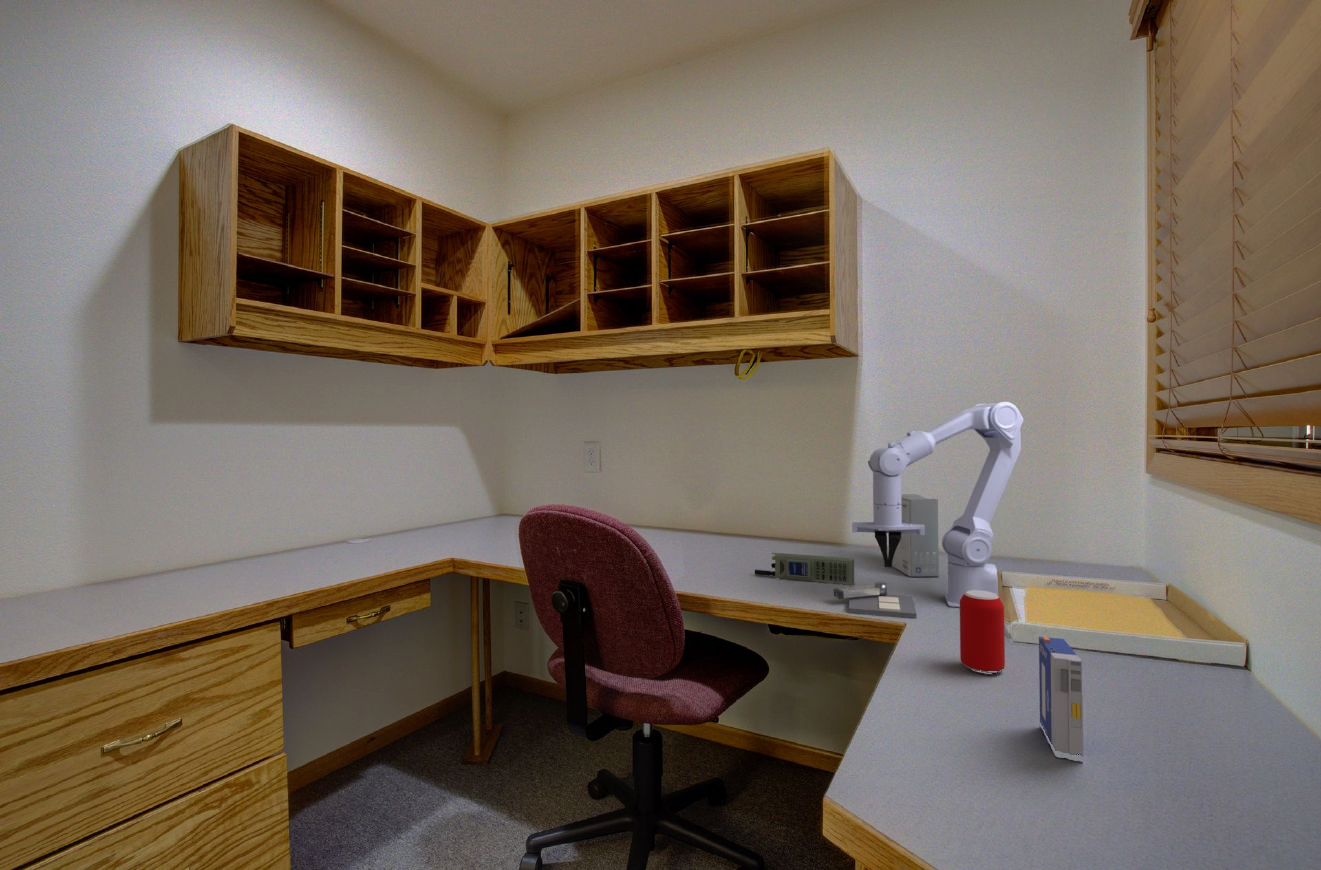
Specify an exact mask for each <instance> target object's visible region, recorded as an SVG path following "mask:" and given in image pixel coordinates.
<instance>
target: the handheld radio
mask: <svg viewBox="0 0 1321 870" xmlns="http://www.w3.org/2000/svg"><path fill="white" fill-rule="evenodd" d="M771 554H772V556H771V560H772V561H773V560H774V562H772V563H771V568H772V569H775V570H765V569H764V570H763V569H754V575H757V576H768V577H769V576H773V577H774V578H779V579H778V580H783V579H786V580H787V581H796V582H806V581H807V583H808V582H809V583H817V582H818V583H819V584H828V583H833V584H832V585H840V584H842V585H843V586H851V585H853V586H854V585H855V558H854V557H839V556H826V555H825V556H823V555H812V554H811V555H809V554H798V553H784V552H782V553H781V552H772V553H771ZM818 583H817V584H818ZM842 585H841V586H842Z"/></svg>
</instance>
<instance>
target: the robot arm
mask: <svg viewBox="0 0 1321 870" xmlns="http://www.w3.org/2000/svg"><path fill="white" fill-rule="evenodd" d="M1023 423H1024V417H1023V416H1022V414H1021V412H1020V410H1019V409H1018V407H1017V406H1016V405H1015V404H1013V403H1012V402H1009V401H1001V402H995V403H978V404H975V405H974V406H973V407H969V408H965V409H963V411H960V412H959V413H957V414H956V415H954V416H952V417H950V418H948V419H947V420H945V421H943V422H942V423H940V424H938V425H936V426H935V427H933V428H931V429H930V430H928V431H923V430H918V429H917V430H916V431H915V430H910V431H908V432H906V436H904V437H903V438H901V439H898V440H897V441H890V442H888V443H887V448H886V447H881V448H877V449H875V450H874V451H873V452H872V453H871V454H870V457H869V460H868V461H867V465H868V468H869V469H870V470H871V472H872V475H873V476H872V481H873V482H872V501H873V503H872V505H873V506H872V507H873V509H872V510H873V521H869V522H867V521H865V522H864V521H863V522H861V521H860V522H859V521H857V522H852V527H851V528H852V531H851V532H852V533H874V538H875V540H876V542H877V544H878V547H879V549H880V551H881V554H882V557H883V562H884V568H890V569H891V568H893V566H892V561H893V557H894V554H895V551H896V548H897V546H898V544H899V542H900V540H901V534H919V535H925V527H924V525H919V524H906V523H902V505H901V494H902V474H903V472H904V471H905V469H906V467H909V466H911V465H912V464H914V463H916V462H919V461H920V460H922V459H924V458H926V457H928V456H930V455H932V454H933V453H934V450H935V447H936V445H938V444H940V443H942V442H945V441H947V440H949V439H952V438H954V437H956V436H957V435H959V434H962V433H964V432H966V431H969V430H974V431H975V432H976V433H977V434H978V435H979V436H980V437H981V438H982V439H983V440H984V442H985V443H986V444H987V446H988V449H989V451H988V454H987V456H986V459H985V461H984V464H983V466H982V468H981V471H980V473H979V476H978V478H977V480H976V483H975V484H974V485H975V486H974V487H973V490H972V492H971V495H970V497H969V500H968V502H967V504H966V507H965V509H964V512H963V514H962V515H961V516H959V517H958V518H956V519H955V520H954V521H953V523H952V525H951V526H950V528H949V529H948V530H947V531H946V532H945V533H944V535H943V536H942V538H941V546H942V549H943V550H944V552H945V553H946V554H947V586H948V587H947V590H948V591H947V592H948V593H947V594H944V598H945V600H946V601H945V602H946V604H947V605H948V606H949V607H953V608H960V599H961V598H962V596H963V595H964V593H965V592H967V591H970V590H981V591H988V592H992V593H995V594H996V595H998V596H999V590H998V589H999V585H998V584H999V582H998V569H997V566H996V565H995V564H993V563H986V562H988V560H989V559H990V558H991V555H992V550H993V549H992V542H993V539H994V537H995V535H994V532H993V530H992V528H991V522H992V520H993V517H994V516H995V514H996V513H995V512H996V510H997V508H998V506H999V503H1000V501H1001V498H1002V496H1003V493H1004V491H1005V489H1006V487H1007V484H1008V481H1009V479H1010V477H1011V474H1012V472H1013V470H1014V467H1015V465H1016V462H1017V460H1018V458H1019V456H1020V453H1021V451H1022V438H1021V437H1022V436H1021V434H1022V433H1021V428H1022V425H1023ZM892 530H897V531H892Z"/></svg>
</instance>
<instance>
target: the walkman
mask: <svg viewBox="0 0 1321 870" xmlns="http://www.w3.org/2000/svg"><path fill="white" fill-rule="evenodd" d="M1038 656H1039V657H1038V661H1039V662H1038V665H1039V666H1038V667H1039V669H1038V670H1039V673H1038V674H1039V681H1038V682H1039V684H1038V685H1039V724H1040V723H1041V725H1042V726H1043V729H1044V730H1045V733H1046V735H1047V736H1048V738H1049V740H1050V742H1051V744H1052V745H1053V747H1054V749H1055V751H1060V752H1063V753H1069V754H1070V755H1077V754H1078V753H1079V754H1080V755H1081V756H1082V757H1083V758H1084V709H1083V708H1084V707H1083V705H1084V701H1083V698H1084V697H1083V663H1082V662H1083V660H1082V659H1081V658H1080V657H1079V656H1078V655H1077V654H1076V652H1075V651H1074V650H1073V648H1072V647H1071V646H1070V645H1069V644H1068V642H1067V641H1066V640H1065V639H1064V638H1059V637H1056V638H1055V637H1048V636H1039V637H1038ZM1079 754H1078V755H1079Z"/></svg>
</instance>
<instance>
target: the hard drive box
mask: <svg viewBox="0 0 1321 870" xmlns="http://www.w3.org/2000/svg"><path fill="white" fill-rule="evenodd" d="M901 505H902V523H906V524H919V525H924V527H925V535H919V534H901V540H900V542H899V544H898V546H897V548H896V551H895V554H894V557H893V561H892V568H895V569H896V570H899V572H901V573H903V574H905V575H906V576H908V577H914V578H916V577H939V576H940V570H939V569H940V568H939V567H940V565H939V564H940V563H939V562H940V560H939V559H940V557H939V550H940V548H939V499H938V498H933V497H930V496H924V495H919V494H915V493H901ZM892 531H897V530H892Z"/></svg>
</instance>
